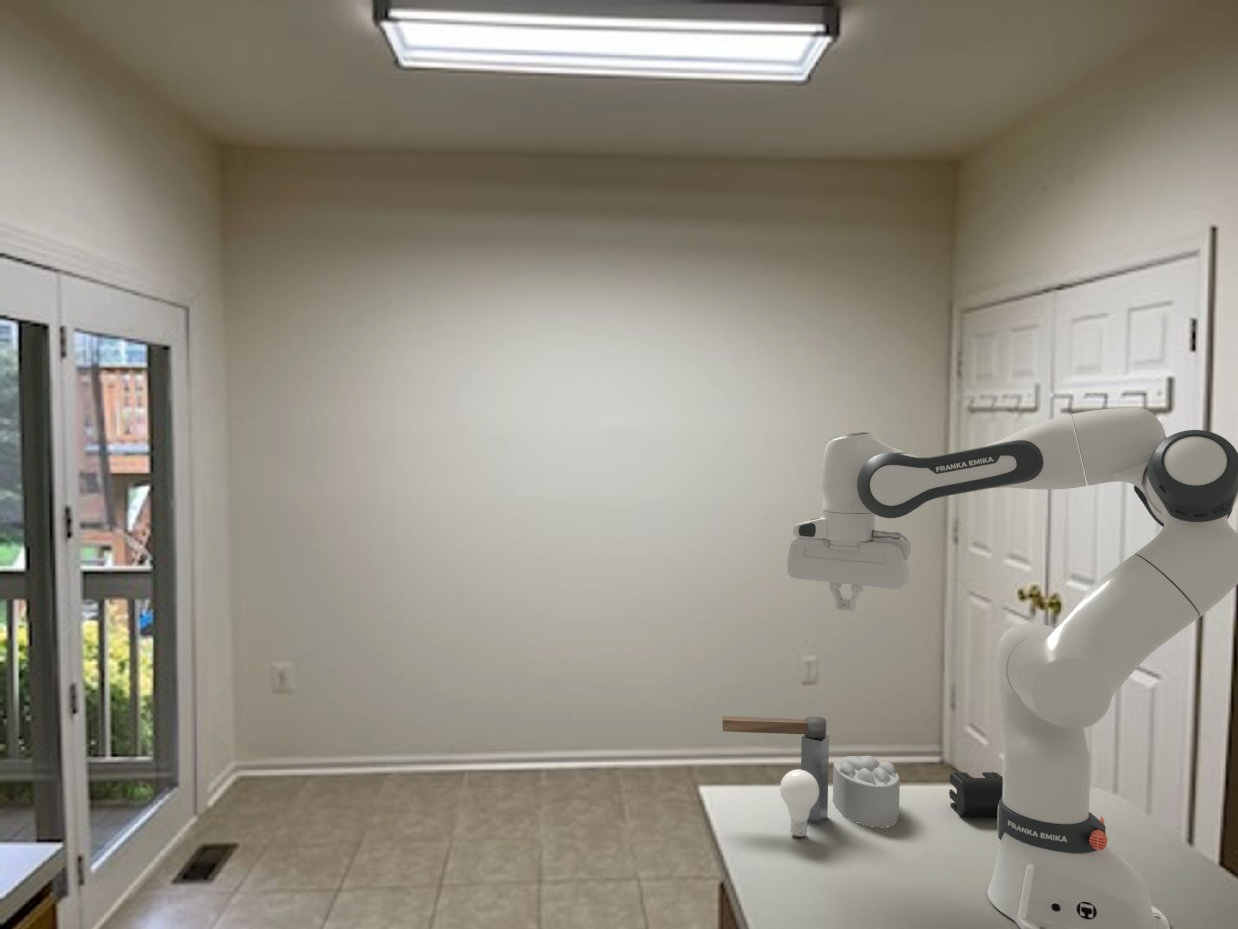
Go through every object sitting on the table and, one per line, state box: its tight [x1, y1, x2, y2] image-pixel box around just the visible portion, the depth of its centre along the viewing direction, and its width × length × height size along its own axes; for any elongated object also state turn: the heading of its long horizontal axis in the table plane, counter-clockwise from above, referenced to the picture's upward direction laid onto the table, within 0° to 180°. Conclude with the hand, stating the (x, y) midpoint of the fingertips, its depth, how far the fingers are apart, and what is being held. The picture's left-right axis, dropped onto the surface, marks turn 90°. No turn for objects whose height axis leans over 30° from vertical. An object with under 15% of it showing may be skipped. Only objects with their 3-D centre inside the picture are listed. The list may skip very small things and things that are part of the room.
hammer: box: [722, 715, 827, 738], centre depth 148 cm, size 4×18×3 cm, turn 86°
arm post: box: [800, 734, 830, 825], centre depth 148 cm, size 4×4×14 cm
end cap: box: [948, 771, 1003, 817], centre depth 151 cm, size 10×7×7 cm
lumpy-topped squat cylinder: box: [832, 755, 901, 828], centre depth 151 cm, size 10×13×9 cm
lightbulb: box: [779, 768, 819, 838], centre depth 141 cm, size 6×6×11 cm
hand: (845, 609), depth 144 cm, fingers closed
